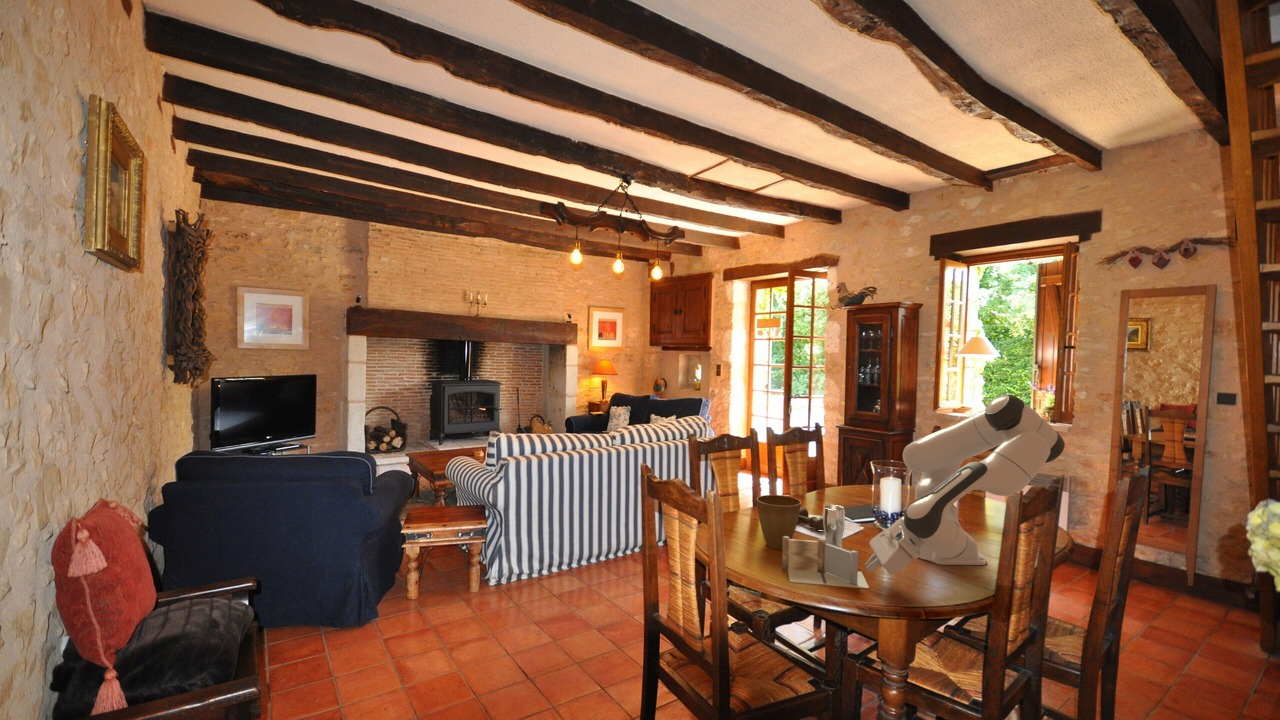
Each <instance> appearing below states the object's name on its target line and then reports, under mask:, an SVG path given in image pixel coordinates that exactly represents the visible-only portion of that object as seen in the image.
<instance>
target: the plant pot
mask: <svg viewBox="0 0 1280 720" xmlns="http://www.w3.org/2000/svg"><path fill="white" fill-rule="evenodd" d="M756 505H757V513H758V519H759V523H760V527H761V531H762V535H763V538H764V541H765V544H766V546H767V547H768V548H771V549H773V550H783V536H788V537H789V539H793V538H794V535H795V531H796V527H797V525H798V521H799V520H798V517H799V512H800V507H802V501H801V500H800V499H798V498H796V497H794V496H793V497H792V496H786V495H782V494H781V495H779V494H765V495H761V496H758V497H756Z"/></svg>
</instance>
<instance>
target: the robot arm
mask: <svg viewBox="0 0 1280 720" xmlns="http://www.w3.org/2000/svg"><path fill="white" fill-rule="evenodd" d="M1065 446H1066V444H1065V441H1064V439H1063V438H1062V436H1061V434H1060V433H1059V432H1058V431H1057V430H1055V429H1054V428H1053V427H1052V425H1051V424H1050V423H1049V422H1048V421H1047V420H1046V419H1045V418H1044V417H1043V416H1042V415H1041V414H1039V413H1037V412H1036V411H1035V409H1033V408H1031V407H1030V406H1029V405H1027V404H1026V403H1025V402H1024V401H1023V400H1022V399H1021V398H1020V397H1017V396H1016V395H1013V394H1009V393H1007V394H1002V395H999V396H996V397H995V398H994V399H993V400H991V401H990V402H989V403H988V404H987V406H986V407H985V409H983V410H981V411H979V412H977V413H975V414H973V415H971V416H969V417H967V418H965V419H963V420H961V421H958V422H957V423H955V424H953V425H950V426H947V427H945V428H942V429H940V430H937V431H935V432H932V433H930V434H928V435H926V436H923V437H921V438H918V439H917V440H914V441H912V442H910V443H909V444H907V445H906V446H905V447H904V449H903V452H902V460H903V463H904V465H905V467H907V469H909V470H910V471H912V472H914V473H920V474H921V476H920V479H919V481H918V482H917V484H916V485H915V490H914V491H915V492H914V494H915V495H914V501H912V502H910V504H908V506H907V507H906V509H905V511H904V515H903V516H901V517H899V518H898V519H897V520H896V521H895V522H893V523H892V524H891V525H890V526H889V527H888V528H885V529H884V530H882V531H881V532H879V533H878V534H876V535H875V536H874V537H873V538H871V540H870V541H869V543H868V544H869V547H870V548H871V549H872V551H873V553H872V554H871V556H870V557H869V559H868V560H867V561H866V562H865V563H864V566H865V569H866V571H868V572H869V573H872V572H873V571H874V570H876V569H879V568H881V567H883V569H884V570H885V571H886V572H887V573H888V574H889V575H894V574H897V573H898V572H900V571H901V570H902V569H904V568H905V567H906V566H908V565H909V564H910V563H911V562H912V560H917V559H921V560H925V561H929V562H931V563H934V564H936V565H940V566H941V565H942V566H945V565H947V566H949V565H953V566H958V565H959V566H985V565H986V564H987V558H986V557H985V556H984V555H983V554H982V553H981V552H979V548H978V544H977V542H976V540H975V539H974V537H972V536H971V535H970V534H969V533H967V532H966V531H965V530H964V529H963V528H962V526H963V524H964V520H963V518H961V517H958V508H957V507H956V506H955V503H957V502H958V501H959V500H960V499H961V498H963V497H964V496H965V495H967V494H968V493H969V492H972V491H974V490H976V491H977V490H982V491H983V492H987V493H989V494H991V495H994V496H999V497H1009V496H1010V497H1011V496H1014V495H1016V494H1014V493H1017V492H1018V491H1020V492H1021V491H1022V490H1023V489H1025V488H1026V486H1027V485H1028V484H1029V483H1030V482H1031V481H1032V480H1033V479H1034V478H1035V477H1036V476H1037V474H1038V473H1039V472H1040V470H1041V469H1042V468H1043V467H1044V464H1046V463H1051V462H1053V461H1055V460H1056V459H1057V458H1059V457H1060V456H1061V455H1062V454H1063V452H1064V449H1065ZM994 448H995V449H994ZM993 449H994V450H993ZM990 450H993V451H992V452H990V454H988V456H986V457H985V458H983V459H982V460H980V461H971V462H968V463H967V464H964V465H963V466H962V467H961V465H962V463H963V462H964V461H965V460H967V459H969V458H970V459H971V458H973V457H976V456H978V455H980V454H982V453H985V452H986V451H990ZM1018 493H1019V492H1018ZM1018 493H1017V494H1018ZM1008 495H1009V496H1008Z"/></svg>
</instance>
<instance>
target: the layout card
mask: <svg viewBox="0 0 1280 720" xmlns="http://www.w3.org/2000/svg"><path fill="white" fill-rule="evenodd" d="M787 573H788V579H789V583H793V584H805V585H815V586H817V585H818V586H827V587H829V586H830V587H831V586H832V587H843V588H855V589H865V590H867V589H868V590H869V589H870V586H869V585H868V583H867V580H866V578H865V577H864V574H863V572H862V571H858V582H857V585H853V584H851V583H850V582H849V581H847V580H844V579H842V578H839V577H837V576H834V575H832V574H829V573H827V572H819V571H805V570H792V569H788V570H787Z"/></svg>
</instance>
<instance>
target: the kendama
mask: <svg viewBox="0 0 1280 720" xmlns="http://www.w3.org/2000/svg"><path fill="white" fill-rule="evenodd" d="M809 516H810V514H809V511H808V510H807V509H806V507H803V506H801V507H800V512H799V517H798V521H800V520H802V521H801V522H804V523H806V524H807V526H808V528H810V527H812V528H811V529H815V530H816V531H817V530H824V527H823V518H819V519H818V517H816V516H811V517H809Z"/></svg>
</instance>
